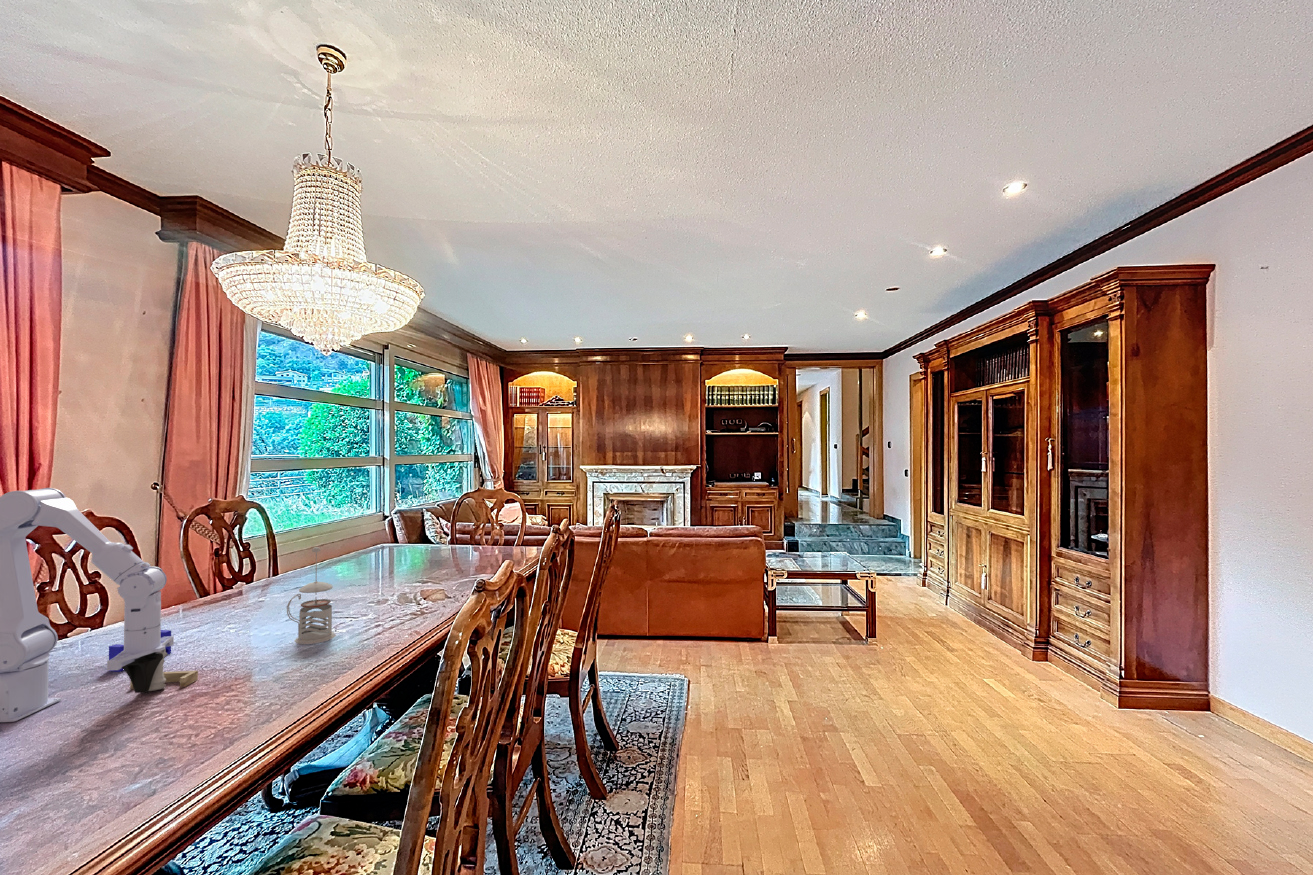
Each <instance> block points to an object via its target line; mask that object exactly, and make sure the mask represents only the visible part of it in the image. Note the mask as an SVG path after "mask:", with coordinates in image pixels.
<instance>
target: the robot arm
mask: <svg viewBox="0 0 1313 875" xmlns="http://www.w3.org/2000/svg"><path fill="white" fill-rule="evenodd" d="M39 526H40V527H52V528H57V529H58V530H60V531H61V532H63V533H64V534H66V535H67V536H68V537H70V538H71V539H72V540H73V541H75V542H76V543H77V544H79V545H80V546H82V547H83V548H84V549H86V550H87V552H89V553H91V563H92V564H93V565H94V566H95V567H96V568H97V569H98V570H100V571H101V572H102V573H103V574H104V575H106V576H107V577H108V578H109V579H111V581H113V582H114V583H115V584H116V585H118V587H117V593H118V595H119V596H120V597H121V598H122V599H123V602H124V610H123V611H124V616H123V618H124V619H123V620H124V621H123V622H124V623H123V624H124V626H123V627H124V628H123V636H124V637H123V645H124V650H123V651H122V652H121V653H119V654H118V655H117V656H115V657H114V658H113V659H111V660H109V659H108V660H107V662H106V671H108V672H112V671H111V670H119V669H121V668H123V669H124V670H123V671H124V672H125V673H126V675H127V676H128V677H129V681H130V680H131V682H132V685H133V688H134V689H133V691H134V693H135V694H138V693H139V694H140V693H143V694H144V693H147V692H149V691H148V690H149V688H150V684H151V681H152V678H153V675H154V673H155V670H156V668H157V666H158V665H159V663H160V661H161V660H162V659H163V654H162V653H157V654H156V652H160V651H162V650H164V649H165V647H167V646H171V647H172V646H174V644H175V642H174V640H175V638H174V635H171V636H167V637H162V638H161V630H162V629H161V628H162V626H161V625H162V591H161V590H163V588H165V586H166V584H167V581H168V580H167V579H168V578H167V577H168V576H167V575H166V573H165V572H164V571H163V569H162V568H160V567H159V566H154V565H153V566H152V565H151V564H150V563H149V562H148V561H147V562H145V561H144V560H143V559H141V558H140V557H139V556H138V555H137V554H136V553H135V552H134V551H133V549H134V547H133V546H132V545H131V544H124V543H123V542H113V541H110V540H109V539H108V538H107V536H106V535H104V534H103V532H101V531H100V530H99V528H97V527H96V526H95V525H94V524H93V523H92V522H91V521H90V519H89V518H87V517H86V516H85V515H84V514H83V513H82V512H81V511H80V510H79V508H78V507H77V505H76V503H75V501H74V500H72V499H71V498H69V497H67V496H66V495H65V493H63V492H62V491H61V490H59V489H57V488H54V487H44V488H39V489H29V490H28V489H27V490H12V491H9V492H6V493H4V494H2V495H0V723H13V722H17V721H19V720H21V719H23V718H26V717H27V716H30V715H32V714H34V713H36V712H39V711H40V710H43V709H45V708H47V707H49V706H52V705H54V704H56V703H58V702H59V701H61V700H62V698H61V697H49V663H50V662H49V658H50V652H51V651H53V650H54V648H56V646H57V644H58V642H59V637H58V633H57V632H56V630H55V629H54V628H53V627H52V626H51V624H50V620H49V618H48V617H47V616H46V615H44V614H43V613H40V612H39V609H38V604H37V597H36V592H35V587H34V580H33V575H32V569H31V563H30V556H29V551H28V545H27V540H26V537H27V536H28V535H29V534H30V533H31V532H32V531H34V530H35V529H36V528H37V527H39Z"/></svg>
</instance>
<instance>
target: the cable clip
mask: <svg viewBox="0 0 1313 875" xmlns="http://www.w3.org/2000/svg"><path fill="white" fill-rule="evenodd" d="M167 636H172V629H171V630H169V629H161V638H162V637H167ZM165 649H166V653H167V655H166V656H168V655H170V653H171V654H172V646H167V647H165ZM123 650H124V644H118V643H117V644H116V643H115V644H112V645H110V646H109V645H108V660H111V659H113V658H114V657H115V656H117V655H118V654H119V653H121V652H122V651H123ZM123 671H124V670H123V668H121V669H119V670H111V671H110V672H115V673H121V672H123Z"/></svg>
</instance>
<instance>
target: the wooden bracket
mask: <svg viewBox="0 0 1313 875" xmlns="http://www.w3.org/2000/svg"><path fill="white" fill-rule="evenodd" d="M163 674H164V678H166V682H165V683H179V688H185V687H188V686H189V685H190V684H192V683H194V682H196V681H198V680H199V671H198V670H183V671H177V670H176V671H163ZM129 681H130V684H129V685H130V686H129V688H130V690H134V688H133V685H132V682H131V680H130V679H129ZM165 683H164V684H165Z"/></svg>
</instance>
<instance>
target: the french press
mask: <svg viewBox="0 0 1313 875" xmlns="http://www.w3.org/2000/svg"><path fill="white" fill-rule="evenodd" d="M313 552H315V581H313V582H309V583H307V584H305V585H304V586H302V587H300V588H299V589H298V591H299V593H297V594H295V595H294V596H293V597H291V599H289V601H288V603H287V606H286V615H287V617H288V618H289V620H291V621H292V622H295V623H297V624H298V626H297V627H298V630H297V631H298V632H297V633H298V635H297V637H296V639H294V643H295V642H296V643H295V644H299V645H310V644H311V645H312V644H319V643H323V642H326V641H330V640H331V639H334V638H335V637H336V636H337V635H336V633H335V632H334V631H333V628H332V627H333V626H332V625H333V624H332V622H333V620H332V619H333V615H332V614H333V612H332V611H333V606H332V605H331V599H328V598H327V599H326V598H320V599H319V598H318V599H317V598H315V599H310V600H307V601H303V602H302V603H300V607H301V608H300V609H299V619H297V618H295V617H294V616H292V614H291V612H290V605H291V602H292V600H293V599H295V598H297V597H298V600H299V601H300V600H301V599H302V594H311V593H312V594H316V593H321V592H327V591H330V590H332V589H333V587H334V585H332V584H330V583H328V582H324V581H317V580H318V577H317V571H318V570H317V568H318V565H317V564H318V563H317V562H318V560H317V558H318V557H317V556H318V555H317V554H318V552H321V548H320V547H319V546H315V547H313V548H312V553H313ZM301 593H302V594H301ZM314 609H316V610H314ZM312 610H313V611H312ZM319 619H321V620H319ZM315 623H316V624H315ZM317 623H318V624H317ZM321 624H322V625H321ZM329 639H330V640H329ZM318 642H319V643H318Z"/></svg>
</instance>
